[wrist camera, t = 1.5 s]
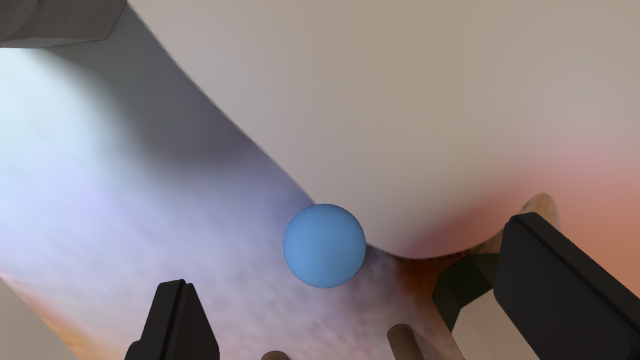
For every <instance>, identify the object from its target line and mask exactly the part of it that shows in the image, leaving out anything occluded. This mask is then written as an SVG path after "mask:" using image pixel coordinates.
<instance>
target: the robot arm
mask: <svg viewBox="0 0 640 360" xmlns="http://www.w3.org/2000/svg"><path fill="white" fill-rule="evenodd" d="M493 293H494V297H495V299H496V301H497V302H498V304H499V305H500V306H501V308H502V309H503V310H504V312H505V313H506V315H507V316H508V317H509V319H510V320H511V321H512V323H513V324H514V325H515V327H516V328H517V329H518V331H519V332H520V333H521V335H522V336H523V337H524V339H525V340H526V341H527V343H528V344H529V346H530V347H531V348H532V350H533V351H534V352H535V354H536V355H537V356H538V358H539V359H540V360H640V299H639V298H638V297H637V296H636V295H634V294H633V293H632V292H631V291H630V290H628V289H627V288H626V287H625V286H624V285H622V284H621V283H620V282H619V281H618V280H616V279H615V278H614V277H613V276H612V275H610V274H609V273H608V272H607V271H606V270H604V269H603V268H602V267H601V266H600V265H599V264H597V263H596V262H595V261H594V260H593V259H591V258H590V257H589V256H588V255H587V254H585V253H584V252H583V251H582V250H581V249H579V248H578V247H577V246H576V245H575V244H573V243H572V242H571V241H570V240H569V239H567V238H566V237H565V236H564V235H563V234H561V233H560V232H559V231H558V230H557V229H556V228H554V227H553V226H552V225H551V224H550V223H548V222H547V221H546V220H545V219H544V218H542V217H541V216H540V215H539V214H537V213H535V212H530V213H525V214H519V215H514V216H512V217H511V218H510V220H509V222H507V223H506V224H505V227H504V232H503V238H502V243H501V248H500V254H499V259H498V265H497V270H496V275H495V281H494V286H493ZM124 360H220V352H219V346H218V344H217V341H216V339H215V336H214V334H213V331H212V329H211V327H210V324H209V322H208V319H207V317H206V315H205V312H204V310H203V307H202V305H201V302H200V300H199V298H198V295H197V293H196V290H195V288H194V286H193V284H192V283H188V284H186V282H185V280H184V279H179V280H174V281H169V282H163V283H160V284H159V285H158V287H157V290H156V293H155V296H154V299H153V302H152V305H151V308H150V311H149V314H148V317H147V320H146V324H145V327H144V330H143V333H142V336H141V339H140V340H138V341H135V342H133V343H132V344H131V345H130V347H129V349H128V351H127V353H126V356H125V359H124Z"/></svg>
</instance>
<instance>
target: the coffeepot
mask: <svg viewBox="0 0 640 360" xmlns="http://www.w3.org/2000/svg"><path fill="white" fill-rule="evenodd" d="M126 1H127V0H0V48H46V47H54V46H61V45H69V44H76V43H84V42H91V41H99V40H106V39H107V37H108V35H109V33H110V31H111V30H112V28H113V26H114V24H115V23H116V21H117V19H118V18H119V16H120V14H121V13H122V11H123V9H124V6H125V3H126Z"/></svg>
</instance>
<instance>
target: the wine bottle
mask: <svg viewBox="0 0 640 360" xmlns="http://www.w3.org/2000/svg"><path fill="white" fill-rule="evenodd" d="M498 259H499V254H468V255H467V256H465V257H464V258H462V259H461V260H459V261H458V262H456V263H455V264H453V265H452V266H450V267H449V268H447V269H446V270H444V271H443V272H441V273H440V274H439V277H438V280H437V283H436V286H435V289H434V292H433V295H432V300H433V301H434V303H435V305H436V307H437V309H438V311H439V312H440V314H441V316H442V318H443V320H444V322H445V323H446V325H447V327H448V329H449V331H450V333H451V335H452V336H453V338H454V340H455V342H456V344H457V346H458V347H459V349H460V351H461V353H462V355H463V357H464V358H465V360H540V359H539V358H538V356H537V355H536V354H535V352H534V351H533V350H532V348H531V347H530V346H529V344H528V343H527V341H526V340H525V339H524V337H523V336H522V335H521V333H520V332H519V331H518V329H517V328H516V327H515V325H514V324H513V323H512V321H511V320H510V319H509V317H508V316H507V315H506V313H505V312H504V310H503V309H502V308H501V306H500V305H499V304H498V302H497V301H496V299H495V297H494V293H493V286H494V281H495V275H496V270H497V265H498Z"/></svg>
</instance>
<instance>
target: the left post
mask: <svg viewBox="0 0 640 360" xmlns="http://www.w3.org/2000/svg"><path fill="white" fill-rule="evenodd" d="M261 360H287V356H286V354H285V353H283V352H280V351H272V352H268V353H266V354H265V355H264V356H263V357H262V359H261Z"/></svg>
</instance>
